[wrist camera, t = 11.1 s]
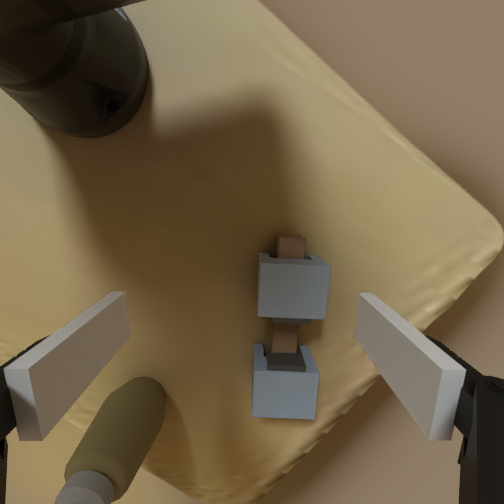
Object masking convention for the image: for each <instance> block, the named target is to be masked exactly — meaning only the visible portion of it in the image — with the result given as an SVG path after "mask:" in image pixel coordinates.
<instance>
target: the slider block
mask: <svg viewBox="0 0 504 504" xmlns="http://www.w3.org/2000/svg"><path fill="white" fill-rule="evenodd" d="M318 381H319V372H318V369H317V367H316V364H315V362H314V359H313V357H312V354H311V352H310V349H309V347H308V346H303V345H299V354H296V353H274V352H267V353H266V356H264V353H263V344H258V343H254V352H253V371H252V417H267V418H291V419H315V410H316V400H317V391H318Z"/></svg>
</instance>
